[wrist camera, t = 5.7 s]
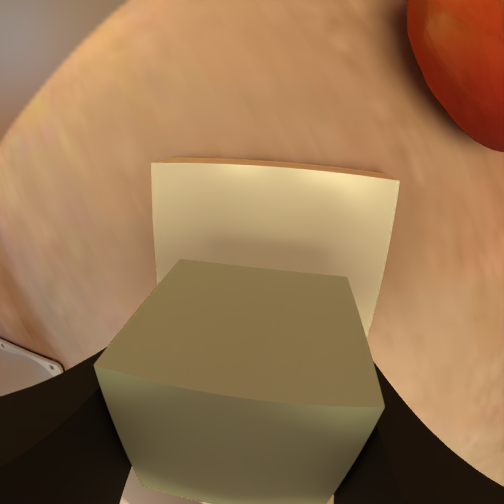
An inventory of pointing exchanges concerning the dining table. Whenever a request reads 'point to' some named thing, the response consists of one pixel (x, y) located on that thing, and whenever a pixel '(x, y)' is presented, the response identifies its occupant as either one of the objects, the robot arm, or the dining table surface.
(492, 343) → the dining table surface
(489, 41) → the tomato
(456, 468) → the robot arm
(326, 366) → the sage cube
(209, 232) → the ceramic block
